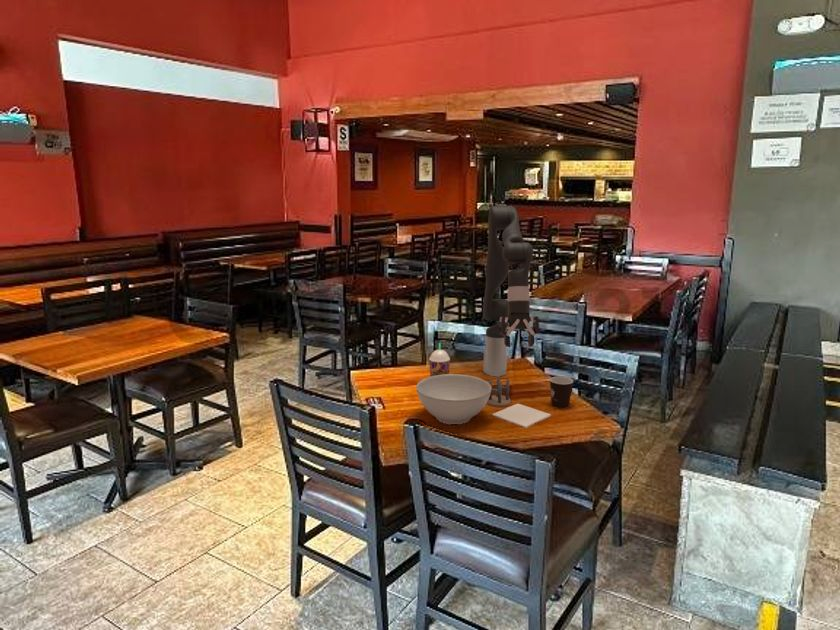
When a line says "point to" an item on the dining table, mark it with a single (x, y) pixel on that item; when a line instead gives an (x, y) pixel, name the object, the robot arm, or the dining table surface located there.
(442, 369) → the smoothie
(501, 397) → the stool
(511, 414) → the mat
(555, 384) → the coffee mug
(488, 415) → the dining table surface
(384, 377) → the dining table surface
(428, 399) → the decorative bowl
